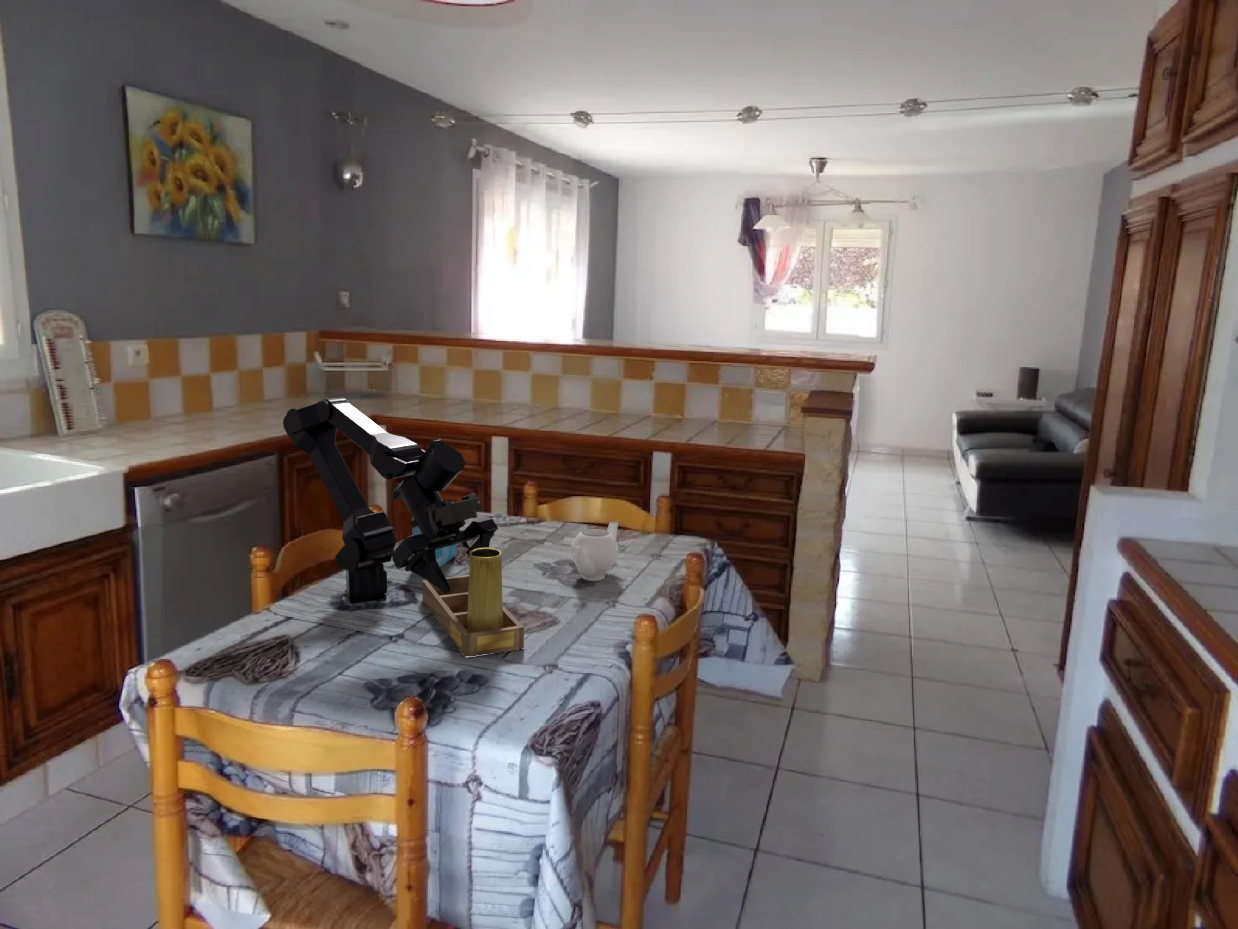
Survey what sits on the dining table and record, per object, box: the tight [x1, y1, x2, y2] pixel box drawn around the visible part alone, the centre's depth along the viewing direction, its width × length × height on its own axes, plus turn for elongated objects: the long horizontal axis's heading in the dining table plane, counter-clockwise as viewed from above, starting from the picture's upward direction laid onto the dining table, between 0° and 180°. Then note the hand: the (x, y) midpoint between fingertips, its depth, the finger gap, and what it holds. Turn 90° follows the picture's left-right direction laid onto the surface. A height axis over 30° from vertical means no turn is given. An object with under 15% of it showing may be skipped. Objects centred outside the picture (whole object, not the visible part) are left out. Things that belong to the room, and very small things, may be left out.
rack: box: [421, 574, 525, 657], centre depth 148 cm, size 10×27×4 cm, turn 27°
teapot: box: [570, 521, 620, 582], centre depth 173 cm, size 10×20×9 cm, turn 156°
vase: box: [467, 547, 503, 633], centre depth 139 cm, size 6×6×14 cm
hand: (470, 585), depth 141 cm, fingers open, 9 cm apart
